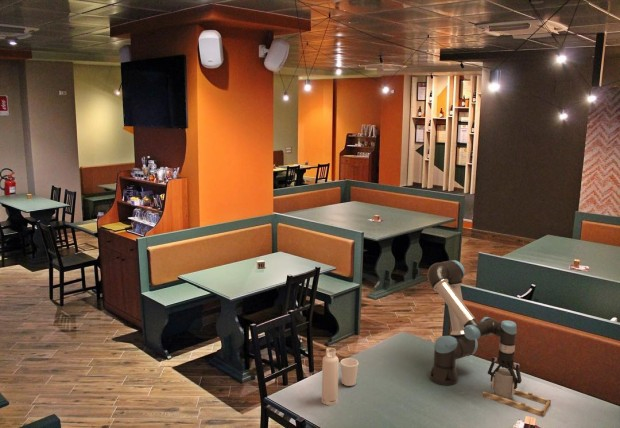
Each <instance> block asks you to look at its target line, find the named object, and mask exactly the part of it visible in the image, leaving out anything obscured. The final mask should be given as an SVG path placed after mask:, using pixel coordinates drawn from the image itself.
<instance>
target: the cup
mask: <svg viewBox="0 0 620 428" xmlns="http://www.w3.org/2000/svg"><path fill="white" fill-rule="evenodd" d="M359 363H360V362H359V361H358V360H357V359H356V358H352V357H350V358H349V357H347V358H343V359H341V360H339V364H340V373H341V385H343V384H344V386H345V387H346V386H347V387H354V386H355V385H356V383H357V377H358V370H359ZM347 387H346V388H347Z"/></svg>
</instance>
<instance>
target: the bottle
mask: <svg viewBox="0 0 620 428" xmlns="http://www.w3.org/2000/svg"><path fill="white" fill-rule="evenodd" d="M330 350H333V351H330ZM336 354H337V352H336V348H334V347H327V348H326V350H325V355H324V356H323V358H322V370H321V371H322V372H321V375H322V376H321V379H322V380H321V403H322V402H323V403H324V405H325V404H326V406H334V405H333V404H335V405H336V404H338V399H339V398H338V397H339V395H338V394H339V365H340V360H339V357H338V356H337V355H336ZM323 403H322V404H323Z"/></svg>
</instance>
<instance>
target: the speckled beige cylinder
mask: <svg viewBox="0 0 620 428" xmlns="http://www.w3.org/2000/svg"><path fill="white" fill-rule="evenodd" d="M494 375H495V379H494V388H493V392H492V394H494V395H497V396H500V397H503V398H506V399H509V400H511V399H512V398H513V395H512V384H513V382H514V381H513V376H511V374H510V372H509V370H508V369H506V368H502V367H500V368H499V369H498V371H497V372H496V371H495V374H494Z"/></svg>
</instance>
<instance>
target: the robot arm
mask: <svg viewBox="0 0 620 428" xmlns="http://www.w3.org/2000/svg"><path fill="white" fill-rule="evenodd" d="M465 275H466V271H465V268H464V266H463V264H462V263H461V262H460V261H458V260H455V259H454V260H453V259H452V260H446V261H441V262H435V263H433V264H431V266H429V268H428V271H427V281H428V283H429V285H430V286H431V288H432V290H433V291H435V292H437V293H438V294H439V296H440V297H441V299H442V300H443V301H444V303H445V304H446V305H447V306H448V308H447V309H448V314H449V319H450V325H451V332H450V335H443V336H439V337H437V338H436V339H435V344H434V353H433V356H434V357H433V365H432V367H431V370H430V371H429V372H430V373H429V379H430V380H431V382H434V383H435V384H438V385H439V386H440V385H442V386H453V385H455V384H457V383H458V372H457V369H456V362H457V360H459V359H463V358H466V357H470V356H472V355H474V354H475V353H476V352H477V350H478V346H479V344H478V339H480V338H484V337H488V336H491V335H492V336H496V337H498V338H499V344H498V345H499V346H498V347H499V348H498V349H499V350H498V357H496V356H492V357H491V363H490V365H489V369H488V370H487V374H488V375H489V376H490V382H491V383H492V387H491V389H493V390H494V379H495V371H496V372H497V371H498V369H500V368H502V369H508V370H509V372H510V374H511V376H513V381H514V382H513V384H512V396H514V393H515V389H516V390H517V388H518V384H521V383H522V380H523V379H522V375H521V371H520V370H521V369H520V368H521V367H520V362H518V363H516V362H515V361H514V360H515V352H516V351H515V350H516V338H517V337H516V336H517V332H518V331H517V324H516V322H514V321H512V320H508V319H507V320H502V321H499V320H497V319H494V317H493V318H492V317H489V316H483V318H482V319H481V320H480V322H479V321H478V320H477V319H476V317H475V316H474V315H473V314H472V312H471V311H470V310H469V308H468V307H467V305H466V304H465V303H464V299H463V295H462V288H461V286H462V284H463V279H464V277H465ZM496 362H497V363H498V365H497V366H496V368H495V369H494V366H495V364H496ZM514 368H515V370H514ZM493 369H494V370H493Z"/></svg>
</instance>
